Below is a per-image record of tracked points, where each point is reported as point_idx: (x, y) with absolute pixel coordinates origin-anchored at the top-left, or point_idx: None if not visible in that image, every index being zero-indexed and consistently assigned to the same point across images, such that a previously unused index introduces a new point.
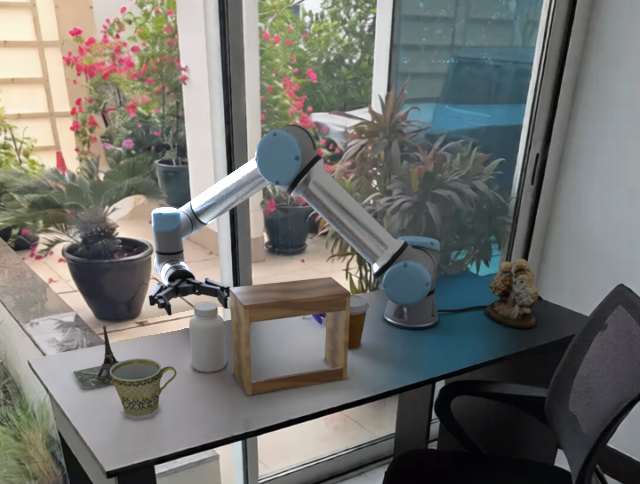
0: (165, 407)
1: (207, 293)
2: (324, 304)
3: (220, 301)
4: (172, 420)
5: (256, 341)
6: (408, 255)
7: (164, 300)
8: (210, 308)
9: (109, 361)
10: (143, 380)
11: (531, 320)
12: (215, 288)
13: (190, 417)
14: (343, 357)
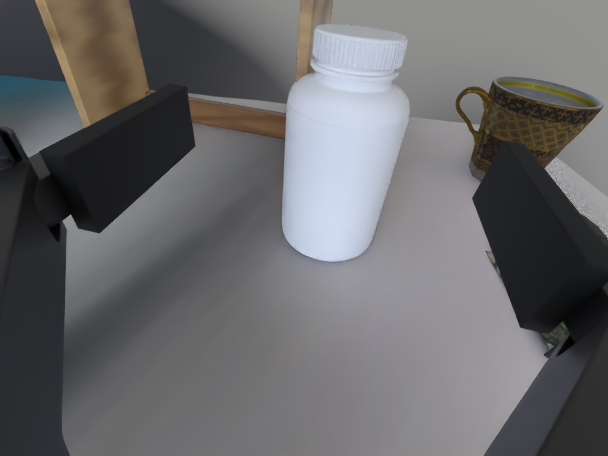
0: (455, 169)
1: (51, 323)
2: None
3: (146, 175)
4: (446, 149)
5: (90, 279)
6: None
7: (560, 199)
8: (352, 26)
9: None
10: (521, 80)
11: None
12: (24, 189)
13: (419, 144)
14: (143, 68)
